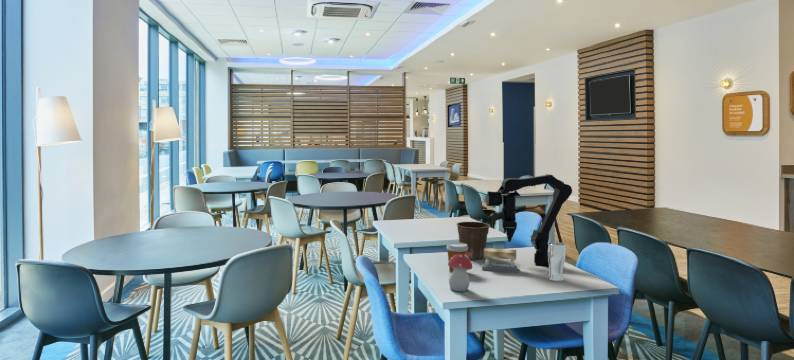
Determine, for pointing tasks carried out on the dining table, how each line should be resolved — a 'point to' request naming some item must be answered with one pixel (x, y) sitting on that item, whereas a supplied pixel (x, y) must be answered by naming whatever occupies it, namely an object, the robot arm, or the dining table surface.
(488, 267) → the peg stand
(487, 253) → the oak plank
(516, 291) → the dining table surface
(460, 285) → the decorative ornament
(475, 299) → the dining table surface
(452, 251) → the lidded amber jar
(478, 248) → the plant pot
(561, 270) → the beer glass
